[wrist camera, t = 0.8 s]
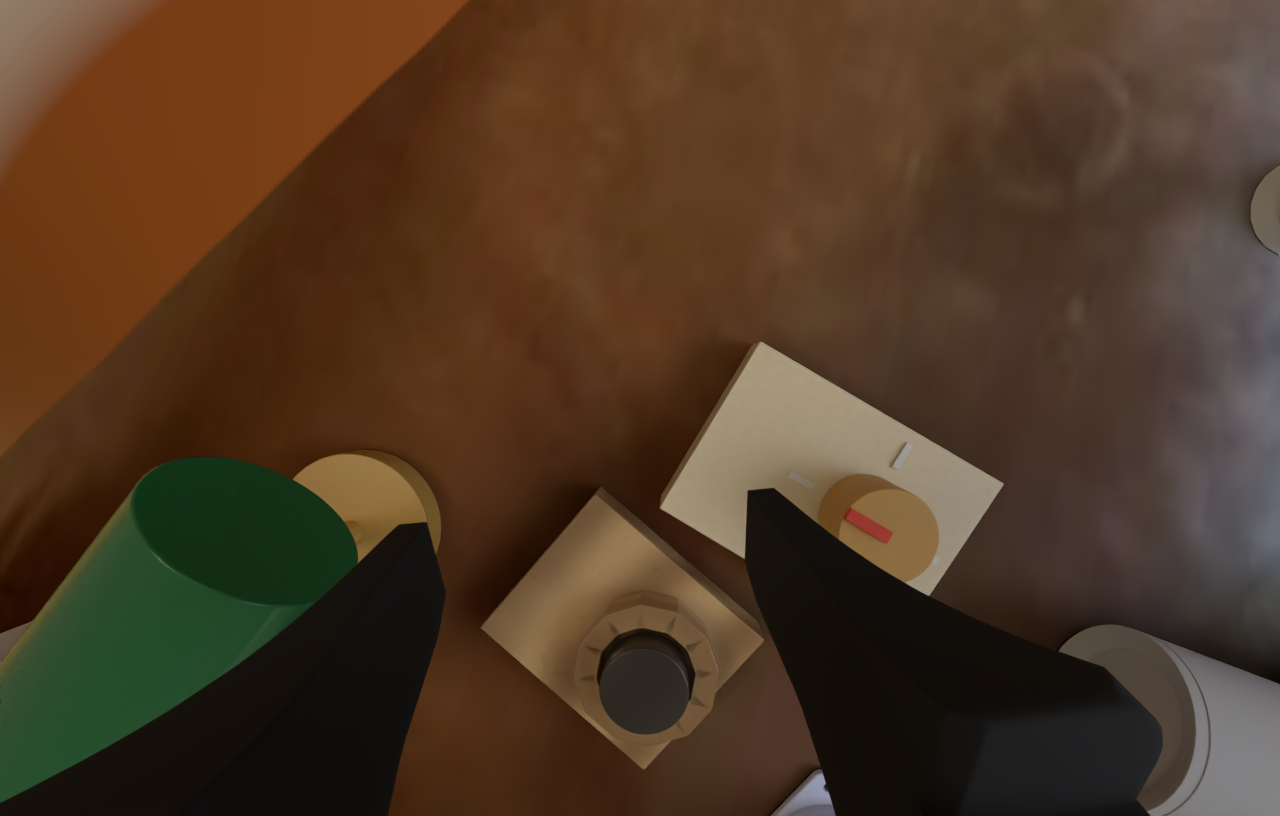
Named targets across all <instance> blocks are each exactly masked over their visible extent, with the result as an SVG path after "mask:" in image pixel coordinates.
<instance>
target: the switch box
mask: <svg viewBox="0 0 1280 816" xmlns="http://www.w3.org/2000/svg"><path fill="white" fill-rule="evenodd" d="M480 628H481V629H482V630H483V631H484V632H486V633H487V634H488V635H489V636H490V637H491V638H493V639H494V640H495V641H496V642H497V643H498V644H499V645H501V646H502V647H503V648H504V649H505V650H506V651H508V652H509V653H510V654H511V655H512V656H513V657H514V658H516V659H517V660H518V661H519V662H520V663H521V664H522V665H524V666H525V667H526V668H527V669H528V670H529V671H531V672H532V673H533V674H534V675H535V676H536V677H537V678H539V679H540V680H541V681H542V682H543V683H544V684H545V685H547V686H548V687H549V688H550V689H551V690H552V691H554V692H555V693H556V694H557V695H558V696H559V697H560V698H562V699H563V700H564V701H565V702H566V703H567V704H568V705H570V706H571V707H572V708H573V709H574V710H575V711H577V712H578V713H579V714H580V715H581V716H582V717H583V718H585V719H586V720H587V721H588V722H589V723H590V724H591V725H593V726H594V727H595V728H596V729H597V730H598V731H600V732H601V733H602V734H603V735H604V736H605V737H606V738H608V739H609V740H610V741H611V742H612V743H613V744H615V745H616V746H617V747H618V748H619V749H620V750H621V751H623V752H624V753H625V754H626V755H627V756H628V757H629V758H631V759H632V760H633V761H634V762H635V763H636V764H638V765H639V766H640V767H641V768H642V769H645V768H646V767H647V766H648V765H649V764H650V763H651V762H652V761H653V759H654V758H655V757H656V756H657V755H658V754H659V753H660V752H661V751H662V750H663V749H664V748H665V747H666V746H667V744H668V743H669V742H670V741H672V740H675V739H678V738H682V737H685V736H686V735H687V736H688V735H689V734H690V732H691V731H692V730H693V729H694V728H695V727H696V726H697V725H698V724H699V723H700V722H701V721H702V720H703V719H704V718H705V716H706V715H707V714H708V713H709V712H710V711H711V710H712V708H713V704H714V699H715V694H716V692H717V691H718V690H719V689H720V688H721V687H722V685H723V684H724V683H725V682H726V681H727V680H728V679H729V678H730V677H731V676H732V675H733V674H734V673H735V672H736V670H737V669H738V668H739V667H740V666H741V665H742V664H743V663H744V662H745V661H746V660H747V659H748V658H749V657H750V655H751V654H752V653H753V652H754V651H755V650H756V649H757V648H758V647H759V646H760V645H761V644H762V643H763V642H764V638H763V634H762V631H761V628H760V625H759V622H758V621H757V620H755V619H754V618H753V617H752V616H751V615H750V614H749V613H747V612H746V611H745V610H744V609H743V608H742V607H740V606H739V605H738V604H737V603H736V602H735V601H733V600H732V599H731V598H730V597H729V596H728V595H726V594H725V593H724V592H723V591H722V590H721V589H719V588H718V587H717V586H716V585H715V584H714V583H713V582H711V581H710V580H709V579H708V578H707V577H706V576H704V575H703V574H702V573H701V572H700V571H699V570H697V569H696V568H695V567H694V566H693V565H692V564H690V563H689V562H688V561H687V560H686V559H685V558H684V557H682V556H681V555H680V554H679V553H678V552H677V551H675V550H674V549H673V548H672V547H671V546H670V545H668V544H667V543H666V542H665V541H664V540H663V539H661V538H660V537H659V536H658V535H657V534H656V533H655V532H653V531H652V530H651V529H650V528H649V527H648V526H646V525H645V524H644V523H643V522H642V521H641V520H639V519H638V518H637V517H636V516H635V515H634V514H632V513H631V512H630V511H629V510H628V509H627V508H626V507H624V506H623V505H622V504H621V503H620V502H619V501H617V500H616V499H615V498H614V497H613V496H612V495H610V494H609V493H608V492H607V491H606V490H605V489H603V488H602V487H599V488H598V490H597V491H596V492H595V493H594V494H593V495H592V496H591V498H590V499H589V500H588V501H587V502H586V503H585V505H584V506H583V507H582V508H581V509H580V510H579V512H578V513H577V514H576V515H575V516H574V517H573V519H572V520H571V521H570V522H569V523H568V524H567V525H566V527H565V528H564V529H563V530H562V531H561V532H560V534H559V535H558V536H557V537H556V538H555V539H554V541H553V542H552V543H551V544H550V545H549V546H548V547H547V549H546V550H545V551H544V552H543V553H542V554H541V556H540V557H539V558H538V559H537V560H536V561H535V563H534V564H533V565H532V566H531V567H530V568H529V570H528V571H527V572H526V573H525V574H524V575H523V576H522V578H521V579H520V580H519V581H518V582H517V583H516V585H515V586H514V587H513V588H512V589H511V590H510V592H509V593H508V594H507V595H506V596H505V597H504V598H503V600H502V601H501V602H500V603H499V604H498V605H497V607H496V608H495V609H494V610H493V611H492V613H491V614H490V615H489V616H488V618H487V619H486V620H485V622H484V623H483V624H482V625H481V627H480ZM641 632H649V633H655V634H658V635H661V636H663V637H665V638H667V639H669V640H670V641H671V642H673V643H674V644H675V645H676V646H677V647H678V648H679V649H680V651H681V652H682V654H683V655H684V657H685V660H686V662H687V666H688V672H689V700H688V704H687V707H686V710H685V712H684V713H683V715H682V717H681V718H680V719H679V720H678V721H677V722H676V723H675V724H674V725H673V726H672V727H670V728H669V729H667V730H665V731H663V732H660V733H656V734H650V735H641V734H635V733H632V732H629V731H627V730H625V729H623V728H621V727H620V726H618V725H617V724H616V723H614V722H613V721H612V720H611V718H610V717H609V716H608V715H607V713H606V711H605V710H604V708H603V705H602V703H601V699H600V693H599V685H600V679H601V675H602V671H603V667H604V664H605V660H606V657H607V655H608V653H609V651H610V650H611V648H612V647H613V646H614V645H615V644H616V643H617V642H618V641H620V640H621V639H622V638H624V637H626V636H628V635H631V634H635V633H641Z"/></svg>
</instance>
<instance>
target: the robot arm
mask: <svg viewBox="0 0 1280 816" xmlns="http://www.w3.org/2000/svg"><path fill="white" fill-rule="evenodd" d="M745 563H746V567H747V571H748V574H749V578H750V581H751V585H752V588H753V591H754V595H755V598H756V601H757V603H758V606H759V608H760V611H761V613H762V615H763V618H764V620H765V622H766V625H767V627H768V629H769V632H770V634H771V636H772V638H773V641H774V643H775V645H776V648H777V650H778V652H779V655H780V657H781V659H782V661H783V664H784V666H785V668H786V671H787V673H788V675H789V678H790V680H791V682H792V684H793V687H794V689H795V692H796V694H797V697H798V699H799V702H800V705H801V707H802V710H803V713H804V716H805V719H806V722H807V725H808V728H809V731H810V734H811V738H812V741H813V744H814V747H815V750H816V753H817V756H818V759H819V763H820V766H821V769H818V770H815V771H814V772H813V773H812V774H811V775H810V776H809V777H808V778H807V779H806V780H805V781H804V782H803V783H802V784H801V785H800V786H799V787H798V788H797V789H796V790H795V791H794V792H793V793H792V794H791V795H790V796H789V797H788V798H787V799H786V800H785V801H784V802H783V803H782V804H781V806H780V807H779V808H778V809H777V810H776V811H775V812H774V813H773V814H772V815H771V816H1150V814H1149V813H1148V812H1147V811H1146V810H1145V809H1144V807H1143V806H1142V805H1141V804H1140V803H1139V801H1138V800H1137V799H1136V798H1137V797H1138V795H1139V793H1140V791H1141V790H1142V788H1143V786H1144V785H1145V783H1146V781H1147V779H1148V778H1149V776H1150V774H1151V772H1152V771H1153V769H1154V767H1155V765H1156V764H1157V762H1158V759H1159V757H1160V754H1161V751H1162V749H1163V730H1162V727H1161V726H1160V724H1159V722H1158V721H1157V719H1156V718H1155V717H1154V716H1153V715H1152V714H1151V713H1150V712H1149V711H1148V710H1147V709H1146V708H1145V707H1144V706H1143V705H1142V704H1141V703H1140V702H1139V701H1138V700H1137V699H1136V698H1135V697H1134V696H1133V695H1132V694H1131V693H1130V692H1129V691H1128V690H1127V689H1126V688H1125V687H1124V686H1123V685H1122V684H1121V683H1120V682H1119V681H1118V680H1117V679H1116V678H1115V677H1114V676H1113V675H1112V674H1111V673H1110V672H1109V671H1108V670H1107V669H1106V668H1105V667H1103V666H1100V665H1097V664H1094V663H1091V662H1088V661H1085V660H1082V659H1079V658H1076V657H1073V656H1071V655H1068V654H1065V653H1062V652H1059V651H1056V650H1053V649H1050V648H1047V647H1044V646H1041V645H1038V644H1036V643H1033V642H1030V641H1028V640H1025V639H1023V638H1020V637H1018V636H1015V635H1013V634H1010V633H1008V632H1005V631H1003V630H1001V629H998V628H996V627H993V626H991V625H989V624H986V623H984V622H982V621H980V620H977V619H975V618H973V617H970V616H968V615H966V614H964V613H962V612H960V611H958V610H956V609H954V608H952V607H950V606H948V605H946V604H944V603H942V602H939V601H937V600H935V599H934V598H932V597H930V596H928V595H926V594H924V593H922V592H920V591H918V590H917V589H915V588H913V587H911V586H910V585H908V584H906V583H905V582H903V581H901V580H899V579H898V578H896V577H894V576H892V575H891V574H889V573H887V572H886V571H884V570H883V569H881V568H879V567H878V566H876V565H875V564H873V563H872V562H870V561H869V560H867V559H866V558H864V557H863V556H861V555H860V554H858V553H857V552H856V551H854V550H853V549H851V548H850V547H848V546H847V545H846V544H844V543H843V542H841V541H840V540H839V539H837V538H836V537H835V536H833V535H832V534H831V533H829V532H828V531H827V530H826V529H824V528H823V527H822V526H820V525H819V524H818V523H817V522H815V521H814V520H813V519H812V518H810V517H809V516H808V515H807V514H805V513H804V512H803V511H802V510H800V509H799V508H798V507H797V506H796V505H794V504H793V503H792V502H791V501H790V500H788V499H787V498H786V497H785V496H783V495H782V494H781V493H780V492H778V491H777V490H776V489H775V488H766V489H756V490H748V491H747V516H746V540H745ZM445 594H446V591H445V587H444V583H443V580H442V576H441V572H440V569H439V565H438V561H437V557H436V554H435V550H434V546H433V542H432V539H431V535H430V531H429V528H428V524H427V522H419V523H409V524H399V525H398V526H397V527H395V528H394V529H393V530H392V531H391V532H390V533H389V534H388V535H387V536H386V537H385V538H383V539H382V540H381V541H380V542H379V543H378V544H377V545H376V546H375V547H374V548H373V549H372V550H371V551H370V552H369V553H368V554H367V555H366V556H365V557H364V558H363V559H362V560H361V561H360V562H359V563H358V564H357V565H355V566H354V567H353V568H352V569H351V570H350V571H349V572H348V573H347V574H346V575H345V576H344V577H343V578H342V579H341V580H340V581H339V582H338V583H336V584H335V585H334V586H333V587H332V588H331V589H330V590H329V591H328V592H327V593H325V594H324V595H323V596H322V597H321V598H320V599H319V600H317V601H316V602H315V603H314V604H313V605H312V606H310V607H309V608H308V609H307V610H306V611H305V612H304V613H302V614H301V615H300V616H299V617H298V618H297V619H296V620H294V621H293V622H292V623H291V624H290V625H288V626H287V627H286V628H285V629H284V630H282V631H281V632H280V633H279V634H277V635H276V636H275V637H274V638H272V639H271V640H270V641H268V642H267V643H266V644H265V645H263V646H262V647H261V648H259V649H258V650H257V651H255V652H254V653H253V654H251V655H250V656H249V657H247V658H246V659H244V660H243V661H242V662H240V663H239V664H238V665H236V666H235V667H233V668H232V669H231V670H229V671H228V672H226V673H225V674H223V675H222V676H220V677H219V678H217V679H216V680H214V681H213V682H211V683H210V684H208V685H207V686H205V687H204V688H202V689H201V690H199V691H198V692H196V693H195V694H193V695H192V696H190V697H189V698H187V699H186V700H184V701H183V702H181V703H180V704H178V705H177V706H175V707H173V708H172V709H170V710H169V711H167V712H165V713H164V714H162V715H160V716H159V717H157V718H156V719H154V720H152V721H151V722H149V723H147V724H146V725H144V726H142V727H141V728H139V729H137V730H135V731H134V732H132V733H130V734H129V735H127V736H125V737H123V738H122V739H120V740H118V741H116V742H115V743H113V744H111V745H109V746H108V747H106V748H104V749H102V750H101V751H99V752H97V753H95V754H93V755H92V756H90V757H88V758H86V759H84V760H82V761H80V762H79V763H77V764H75V765H73V766H71V767H69V768H67V769H65V770H63V771H61V772H59V773H57V774H56V775H54V776H52V777H50V778H48V779H46V780H44V781H42V782H40V783H38V784H36V785H34V786H33V787H31V788H29V789H27V790H25V791H23V792H21V793H19V794H17V795H15V796H13V797H11V798H9V799H7V800H5V801H3V802H1V803H0V816H388V812H389V808H390V803H391V798H392V794H393V789H394V784H395V780H396V775H397V770H398V766H399V761H400V757H401V754H402V750H403V746H404V743H405V739H406V736H407V732H408V729H409V726H410V723H411V720H412V717H413V714H414V711H415V708H416V704H417V701H418V698H419V695H420V692H421V689H422V686H423V683H424V679H425V676H426V673H427V670H428V667H429V664H430V661H431V657H432V654H433V651H434V648H435V644H436V641H437V638H438V634H439V629H440V623H441V618H442V612H443V606H444V600H445ZM825 784H826V786H827V787H825V786H824V785H825Z"/></svg>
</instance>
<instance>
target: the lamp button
mask: <svg viewBox="0 0 1280 816" xmlns="http://www.w3.org/2000/svg"><path fill="white" fill-rule="evenodd" d="M599 693H600V699H601V703H602V705H603V708H604V710H605V711H606V713H607V715H608V716H609V717H610V718H611V720H612V721H613V722H614V723H616V724H617V725H618V726H620V727H621V728H623V729H625V730H627V731H629V732H632V733H635V734H641V735H650V734H656V733H660V732H663V731H665V730H667V729H669V728H670V727H672V726H673V725H674V724H675V723H676V722H677V721H678V720H679V719H680V718H681V717H682V715H683V713H684V712H685V710H686V707H687V704H688V700H689V672H688V666H687V662H686V660H685V657H684V655H683V654H682V652H681V651H680V649H679V648H678V647H677V646H676V645H675V644H674V643H673V642H671V641H670V640H669V639H667V638H665V637H663V636H661V635H658V634H655V633H649V632H641V633H635V634H631V635H628V636H626V637H624V638H622V639H621V640H620V641H618V642H617V643H616V644H615V645H614V646H613V647H612V648H611V650H610V651H609V653H608V655H607V657H606V660H605V664H604V667H603V671H602V675H601V679H600V685H599Z"/></svg>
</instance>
